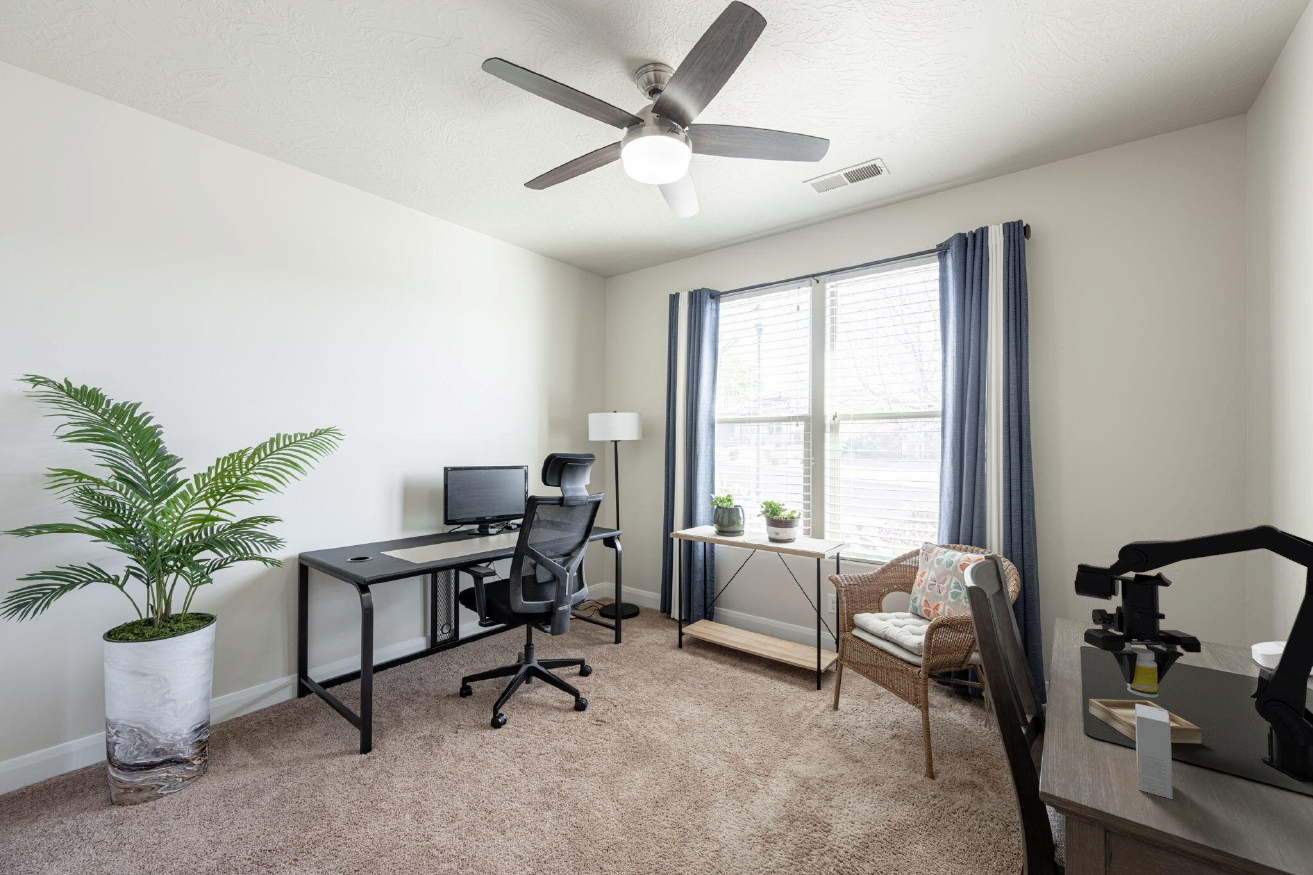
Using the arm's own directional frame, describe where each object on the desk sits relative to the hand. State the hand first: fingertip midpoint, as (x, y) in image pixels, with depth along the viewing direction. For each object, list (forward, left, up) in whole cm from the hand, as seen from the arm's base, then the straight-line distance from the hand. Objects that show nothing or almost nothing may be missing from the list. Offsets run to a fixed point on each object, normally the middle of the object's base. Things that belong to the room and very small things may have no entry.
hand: (1142, 683), depth 112 cm
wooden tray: (0, 0, -9) cm, 9 cm away
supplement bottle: (0, 0, -2) cm, 2 cm away
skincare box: (-21, +15, -9) cm, 27 cm away
